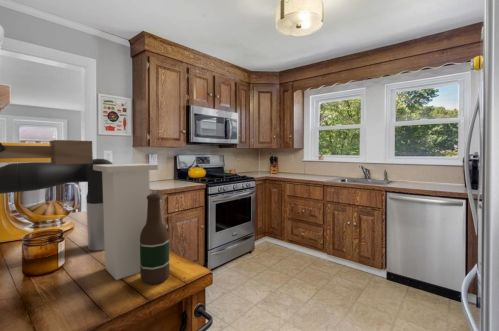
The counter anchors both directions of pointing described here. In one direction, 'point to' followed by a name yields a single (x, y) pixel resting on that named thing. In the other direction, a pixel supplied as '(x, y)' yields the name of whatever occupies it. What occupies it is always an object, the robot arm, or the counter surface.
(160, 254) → the beer bottle
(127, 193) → the stand
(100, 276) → the counter surface
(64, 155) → the mallet
